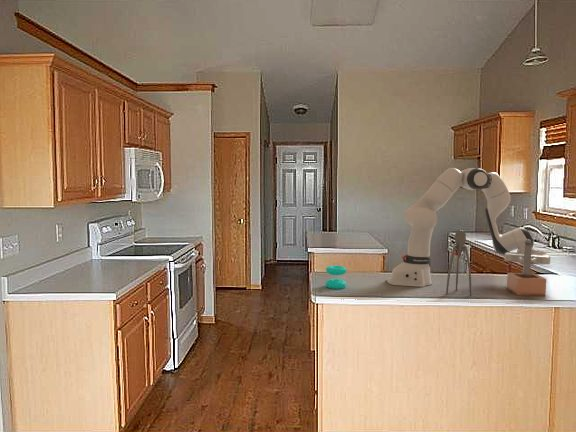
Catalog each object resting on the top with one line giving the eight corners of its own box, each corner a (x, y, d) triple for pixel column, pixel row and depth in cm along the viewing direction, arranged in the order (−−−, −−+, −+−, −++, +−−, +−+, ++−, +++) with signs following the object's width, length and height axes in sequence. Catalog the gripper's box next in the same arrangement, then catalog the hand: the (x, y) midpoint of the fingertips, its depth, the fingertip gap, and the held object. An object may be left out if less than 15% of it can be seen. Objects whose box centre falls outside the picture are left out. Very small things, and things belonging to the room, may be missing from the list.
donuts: (342, 264, 260) (349, 268, 251) (341, 284, 261) (349, 289, 252) (323, 265, 258) (330, 269, 248) (322, 285, 258) (329, 290, 249)
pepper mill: (520, 287, 248) (522, 240, 246) (519, 285, 253) (522, 238, 250) (531, 289, 246) (534, 240, 244) (531, 286, 251) (534, 239, 248)
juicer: (471, 295, 241) (474, 231, 238) (446, 294, 244) (448, 230, 241) (468, 291, 251) (471, 228, 248) (444, 289, 253) (446, 227, 250)
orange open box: (516, 295, 243) (517, 278, 243) (506, 288, 256) (507, 272, 256) (545, 296, 243) (546, 279, 242) (533, 289, 256) (534, 273, 255)
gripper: (504, 248, 264) (503, 252, 251) (549, 251, 256) (551, 255, 243) (503, 260, 264) (503, 265, 252) (548, 264, 256) (550, 269, 244)
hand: (527, 260), depth 247 cm, fingers closed on pepper mill, 3 cm apart
